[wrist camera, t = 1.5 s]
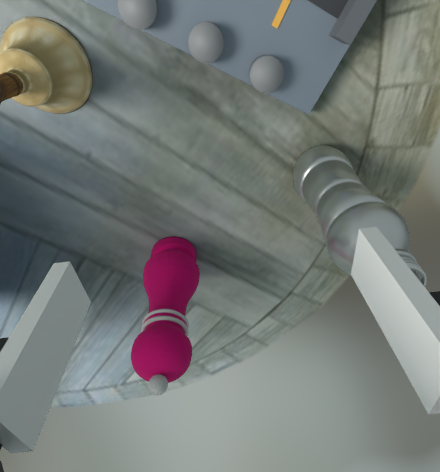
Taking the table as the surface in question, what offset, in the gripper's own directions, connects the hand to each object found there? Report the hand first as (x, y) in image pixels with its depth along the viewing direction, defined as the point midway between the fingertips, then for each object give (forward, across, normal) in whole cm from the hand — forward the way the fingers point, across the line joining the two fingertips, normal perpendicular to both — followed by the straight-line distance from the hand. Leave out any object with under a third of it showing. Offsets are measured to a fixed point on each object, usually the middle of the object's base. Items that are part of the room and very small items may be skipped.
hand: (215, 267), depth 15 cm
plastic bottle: (+24, +12, -7) cm, 28 cm away
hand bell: (+24, -15, +7) cm, 29 cm away
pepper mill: (+24, -7, -18) cm, 31 cm away
